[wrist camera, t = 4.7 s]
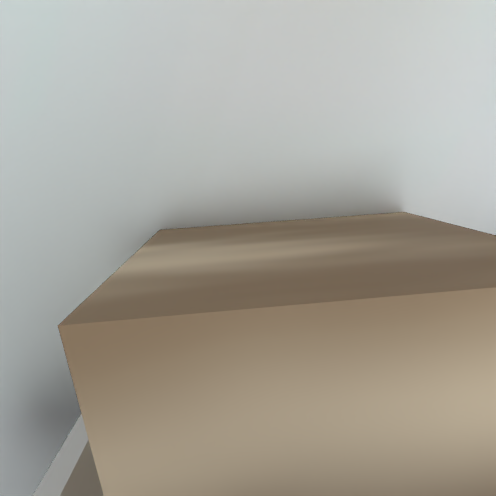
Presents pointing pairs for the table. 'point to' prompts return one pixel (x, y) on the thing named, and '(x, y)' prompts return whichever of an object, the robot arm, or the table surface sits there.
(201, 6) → the table surface
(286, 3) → the table surface
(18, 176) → the table surface
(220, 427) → the beech block
